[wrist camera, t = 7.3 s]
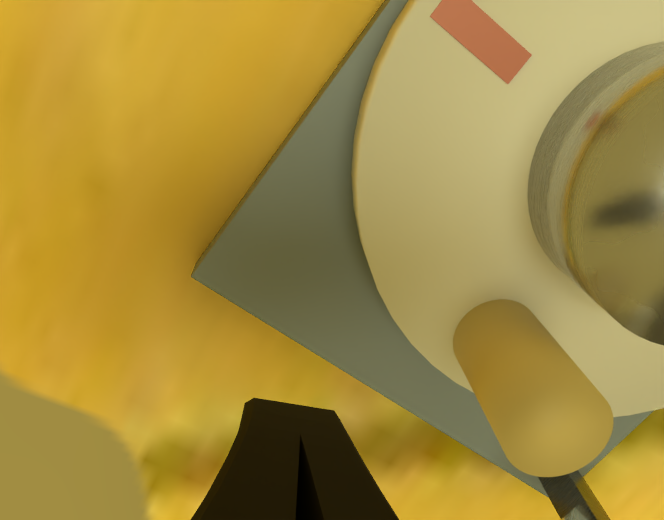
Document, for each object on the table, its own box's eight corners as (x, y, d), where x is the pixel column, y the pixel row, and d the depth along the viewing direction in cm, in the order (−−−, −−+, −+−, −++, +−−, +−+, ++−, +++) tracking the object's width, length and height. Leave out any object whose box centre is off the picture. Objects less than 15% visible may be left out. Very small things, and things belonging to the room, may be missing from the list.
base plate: (1003, 45, 17) (1043, 46, 16) (544, 481, 22) (556, 502, 21) (669, -395, 13) (698, -428, 12) (195, 263, 18) (190, 276, 17)
